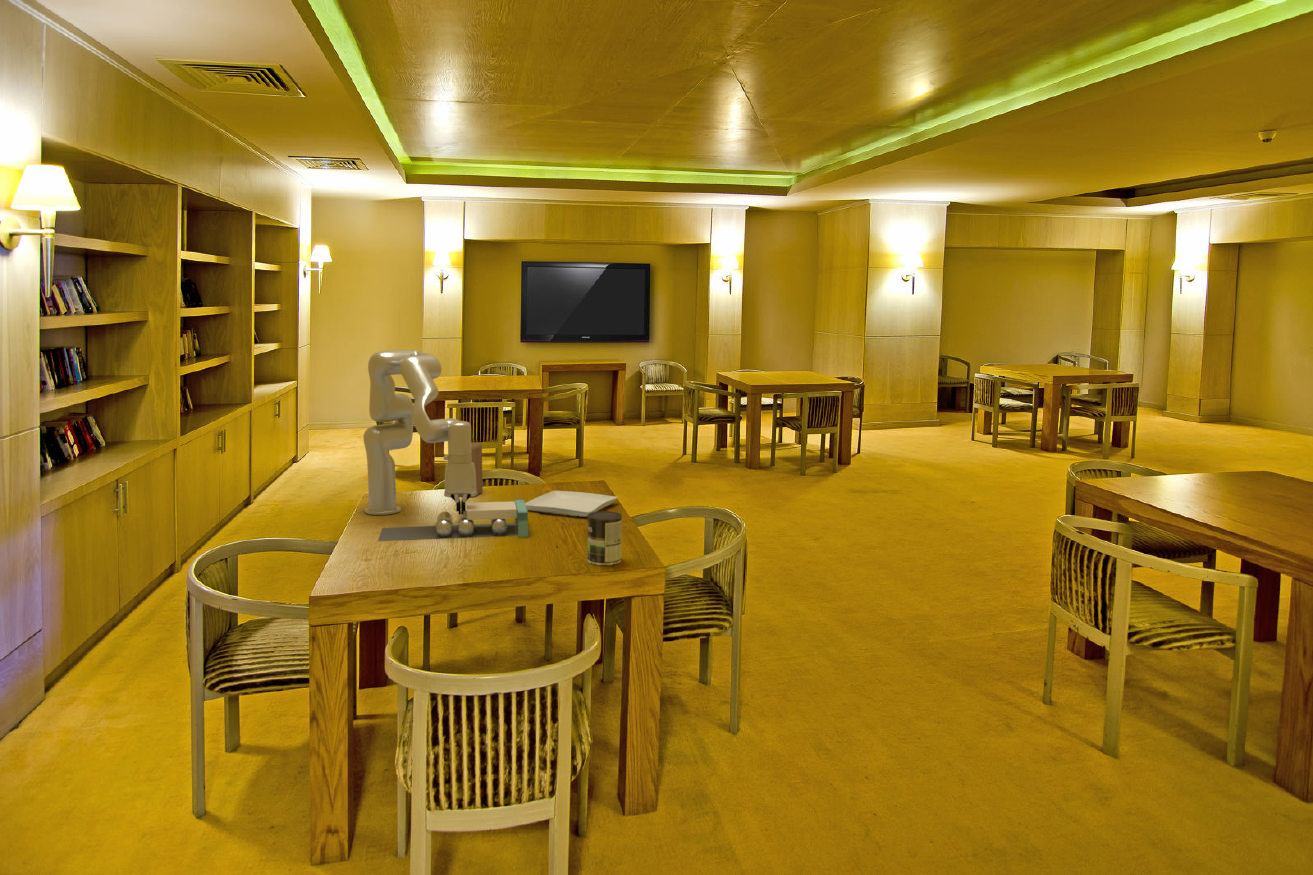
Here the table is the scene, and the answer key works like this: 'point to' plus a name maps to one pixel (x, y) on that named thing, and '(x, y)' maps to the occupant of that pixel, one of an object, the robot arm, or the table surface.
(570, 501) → the square plate
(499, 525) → the loose roller
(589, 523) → the coffee can
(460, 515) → the roller
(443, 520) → the roller
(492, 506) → the slab
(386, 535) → the runway
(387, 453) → the robot arm
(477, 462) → the wooden block
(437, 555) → the table surface
